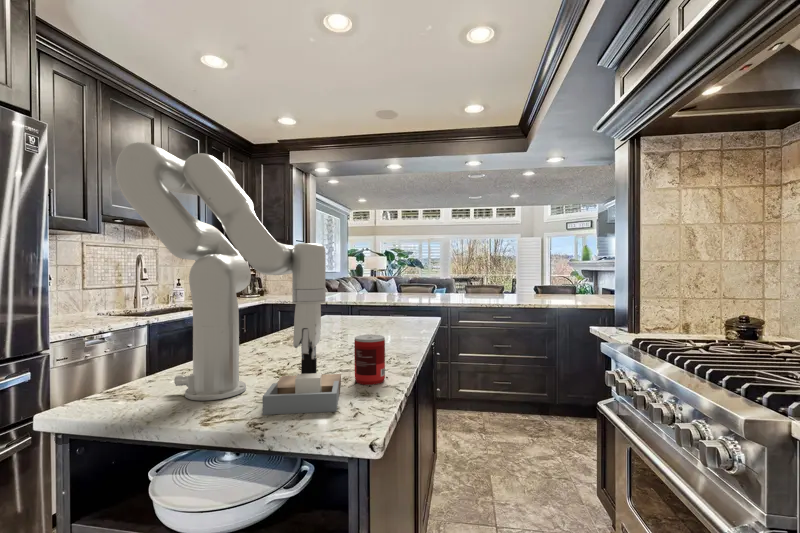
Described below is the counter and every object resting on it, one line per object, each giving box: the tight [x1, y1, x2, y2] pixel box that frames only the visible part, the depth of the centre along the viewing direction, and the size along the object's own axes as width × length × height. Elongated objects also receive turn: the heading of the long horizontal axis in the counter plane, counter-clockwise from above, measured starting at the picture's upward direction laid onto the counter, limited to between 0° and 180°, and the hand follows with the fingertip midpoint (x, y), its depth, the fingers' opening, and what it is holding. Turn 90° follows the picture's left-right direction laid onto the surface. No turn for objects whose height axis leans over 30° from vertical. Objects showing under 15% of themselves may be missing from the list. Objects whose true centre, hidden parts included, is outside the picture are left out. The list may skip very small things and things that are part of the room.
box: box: [262, 381, 340, 416], centre depth 79 cm, size 14×9×4 cm, turn 96°
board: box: [276, 373, 342, 394], centre depth 89 cm, size 14×10×2 cm
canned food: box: [353, 334, 386, 386], centre depth 98 cm, size 8×8×11 cm
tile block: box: [295, 372, 323, 394], centre depth 81 cm, size 5×5×4 cm
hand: (309, 376), depth 89 cm, fingers closed
